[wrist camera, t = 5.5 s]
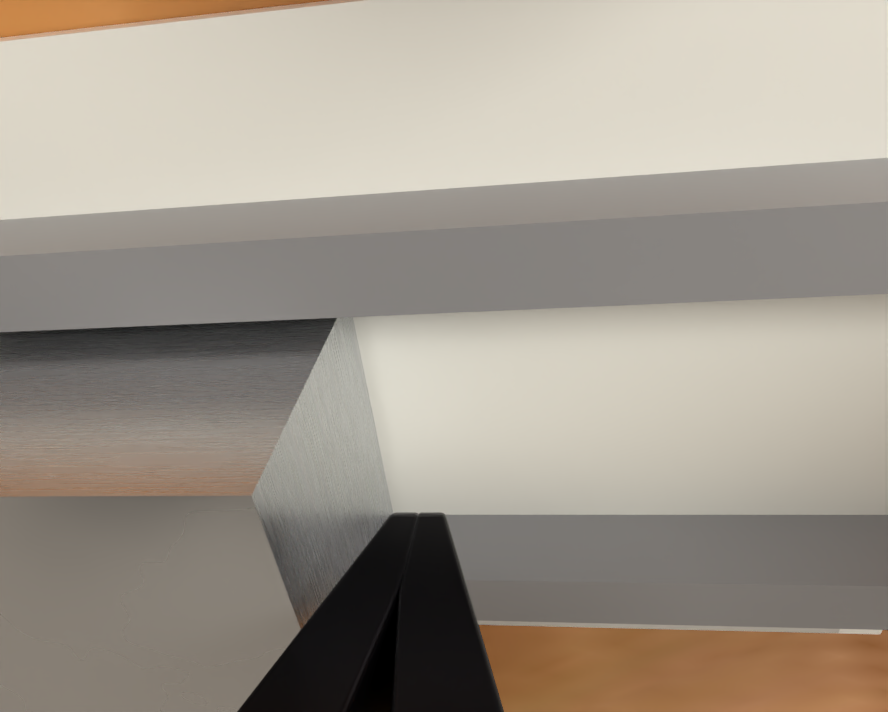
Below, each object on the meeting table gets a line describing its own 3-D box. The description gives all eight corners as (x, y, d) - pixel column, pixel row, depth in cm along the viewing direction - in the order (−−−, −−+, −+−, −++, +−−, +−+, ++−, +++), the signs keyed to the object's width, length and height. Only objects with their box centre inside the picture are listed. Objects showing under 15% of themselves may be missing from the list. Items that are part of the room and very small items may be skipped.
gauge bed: (1117, -89, 8) (2318, -159, 3) (855, 587, 15) (1039, 934, 10) (-530, 98, 11) (-1422, 226, 6) (-113, 573, 18) (-362, 821, 13)
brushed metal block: (348, 294, 10) (251, 495, 6) (412, 610, 14) (377, 838, 11) (10, 310, 11) (-249, 497, 7) (168, 605, 15) (56, 816, 11)
